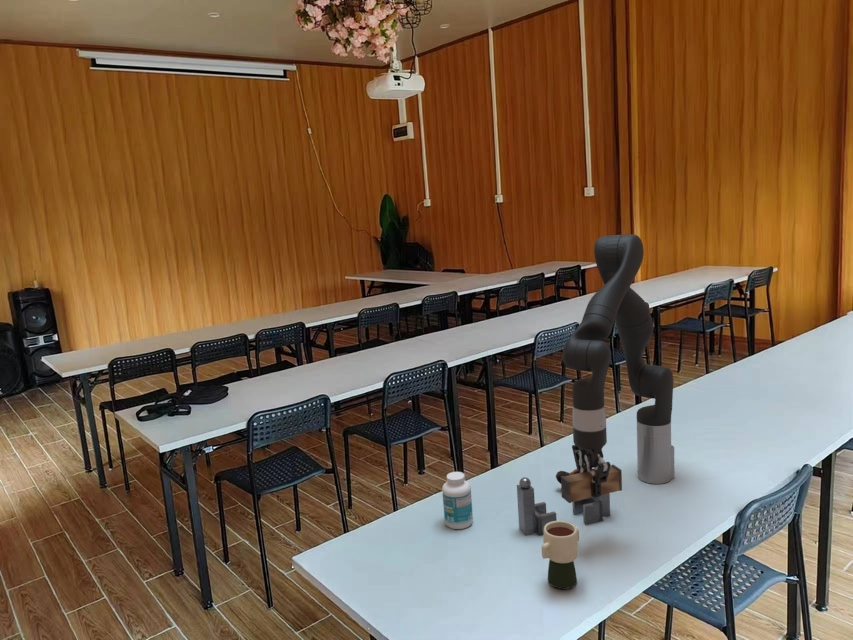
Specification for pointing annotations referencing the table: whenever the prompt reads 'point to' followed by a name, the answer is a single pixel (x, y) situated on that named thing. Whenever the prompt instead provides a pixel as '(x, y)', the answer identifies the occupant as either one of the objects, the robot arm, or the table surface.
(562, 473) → the broken pottery vessel
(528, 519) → the ball knob clevis bracket
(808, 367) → the table surface
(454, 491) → the pill bottle
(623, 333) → the robot arm
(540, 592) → the table surface
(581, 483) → the walnut rail
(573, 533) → the character mug
